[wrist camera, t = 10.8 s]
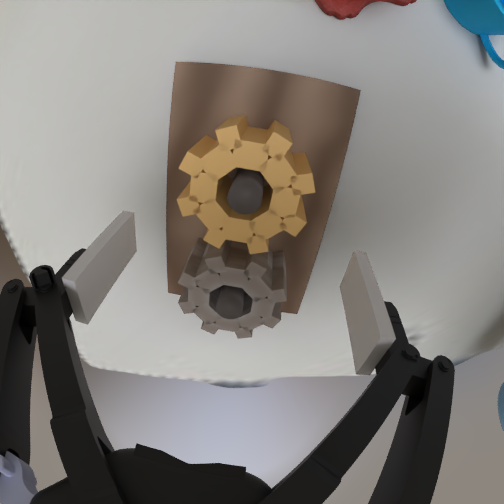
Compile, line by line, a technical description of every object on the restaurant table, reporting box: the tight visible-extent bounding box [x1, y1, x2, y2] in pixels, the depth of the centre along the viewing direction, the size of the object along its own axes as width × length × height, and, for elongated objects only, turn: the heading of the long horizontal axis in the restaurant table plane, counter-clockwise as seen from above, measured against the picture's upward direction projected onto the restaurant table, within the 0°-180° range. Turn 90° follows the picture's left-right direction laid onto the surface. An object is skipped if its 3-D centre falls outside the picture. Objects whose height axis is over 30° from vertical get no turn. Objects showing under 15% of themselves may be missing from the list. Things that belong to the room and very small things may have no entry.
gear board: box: [166, 62, 361, 338], centre depth 26 cm, size 16×26×9 cm, turn 172°
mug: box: [444, 0, 504, 69], centre depth 12 cm, size 12×8×8 cm
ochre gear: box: [177, 115, 315, 254], centre depth 24 cm, size 10×10×6 cm
